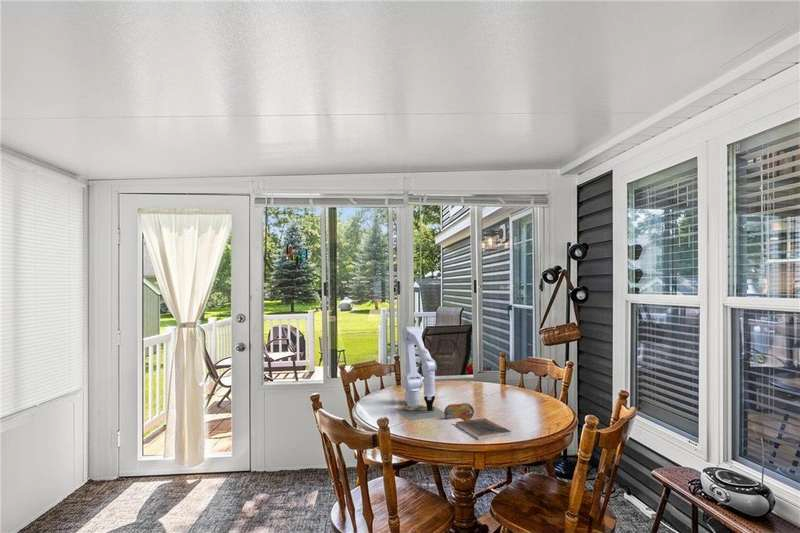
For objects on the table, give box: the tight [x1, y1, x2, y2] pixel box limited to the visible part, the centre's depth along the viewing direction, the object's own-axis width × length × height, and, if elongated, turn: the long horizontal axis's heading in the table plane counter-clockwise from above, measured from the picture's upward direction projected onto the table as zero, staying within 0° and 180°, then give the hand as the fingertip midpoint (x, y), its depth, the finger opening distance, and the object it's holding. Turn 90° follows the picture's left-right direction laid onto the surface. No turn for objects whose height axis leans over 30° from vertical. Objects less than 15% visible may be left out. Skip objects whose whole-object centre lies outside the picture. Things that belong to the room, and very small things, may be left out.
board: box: [394, 405, 446, 421], centre depth 230 cm, size 22×22×2 cm
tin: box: [443, 402, 475, 421], centre depth 221 cm, size 15×3×8 cm, turn 105°
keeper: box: [414, 400, 420, 407], centre depth 235 cm, size 10×2×4 cm, turn 175°
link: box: [401, 402, 435, 410], centre depth 234 cm, size 17×4×3 cm, turn 86°
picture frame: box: [455, 417, 512, 441], centre depth 206 cm, size 16×2×22 cm
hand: (429, 410), depth 230 cm, fingers closed
